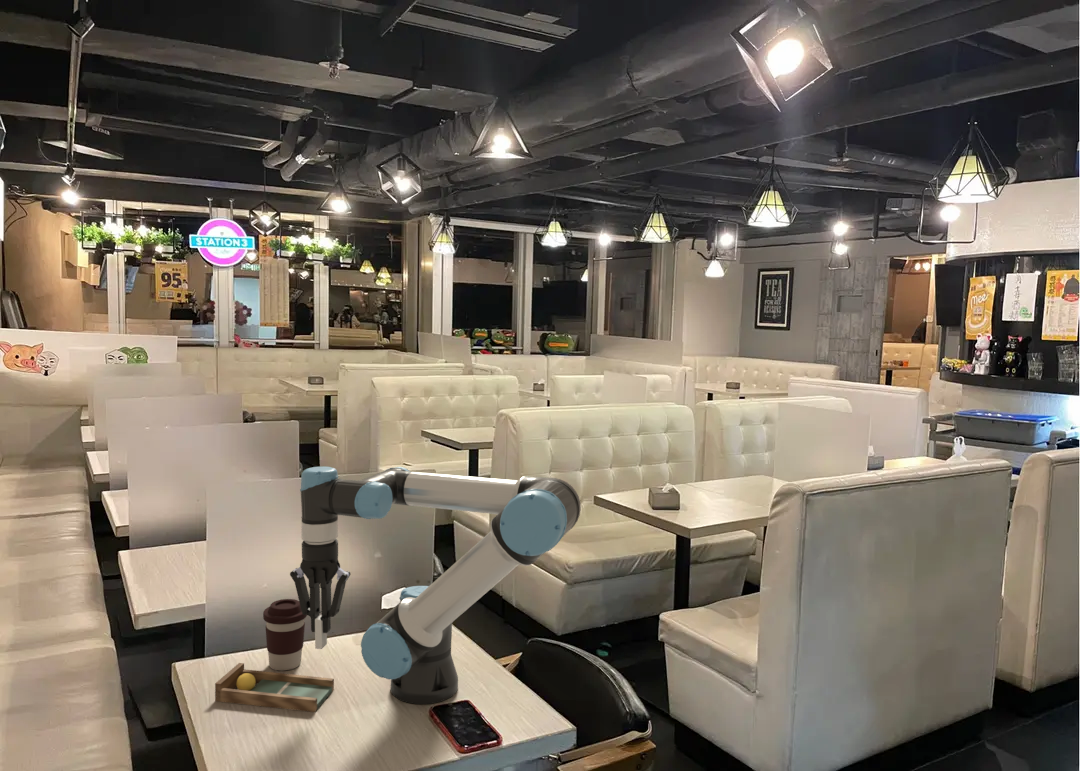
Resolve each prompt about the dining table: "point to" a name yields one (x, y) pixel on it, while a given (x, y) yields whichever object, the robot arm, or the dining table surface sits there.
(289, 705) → the tray
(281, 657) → the coffee cup
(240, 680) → the ball
